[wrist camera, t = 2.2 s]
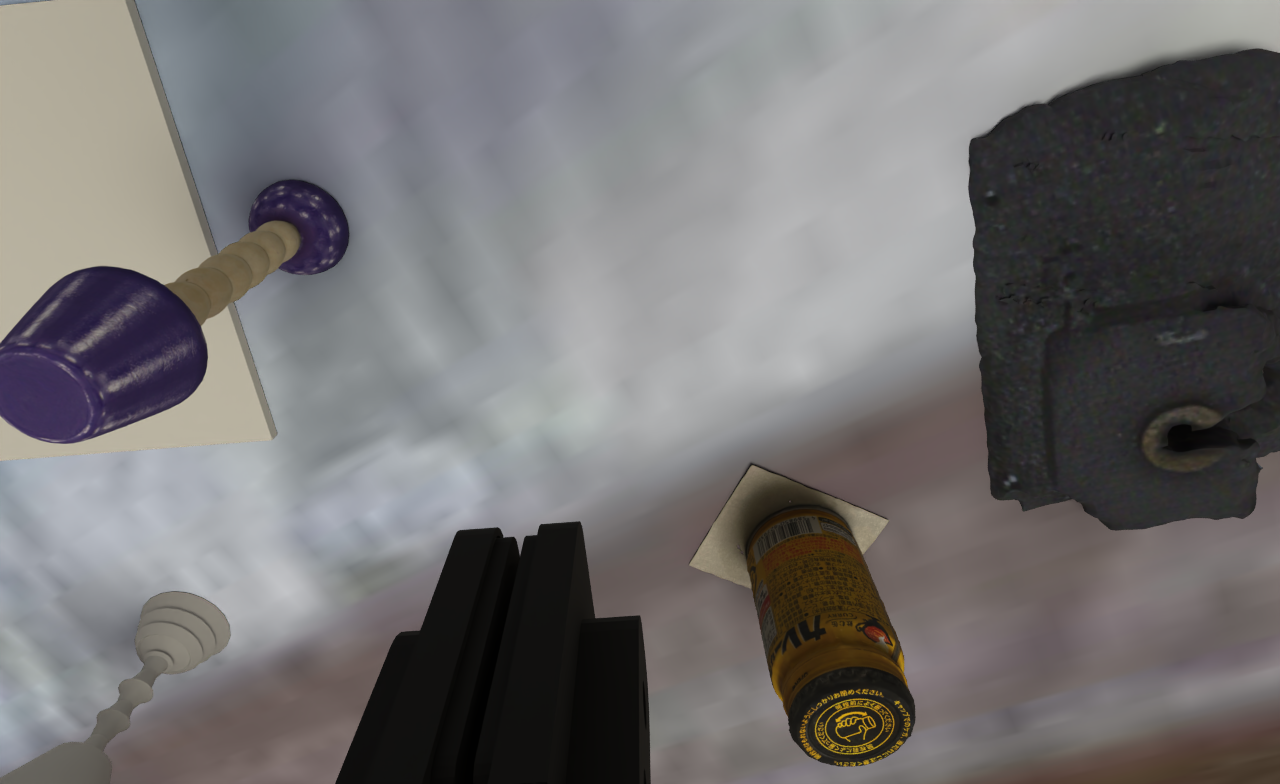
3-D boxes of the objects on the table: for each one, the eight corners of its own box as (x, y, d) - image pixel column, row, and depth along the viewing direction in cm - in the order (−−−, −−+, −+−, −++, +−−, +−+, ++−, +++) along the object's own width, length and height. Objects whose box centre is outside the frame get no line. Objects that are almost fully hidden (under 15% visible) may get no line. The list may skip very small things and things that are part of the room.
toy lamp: (368, 273, 35) (164, 455, 20) (274, 294, 35) (5, 487, 20) (328, 169, 33) (68, 284, 18) (229, 192, 33) (-107, 324, 18)
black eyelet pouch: (1324, 10, 31) (1434, 7, 27) (1279, 458, 40) (1357, 509, 36) (947, 117, 33) (993, 130, 28) (986, 523, 42) (1026, 579, 37)
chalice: (179, 557, 42) (-110, 889, 26) (272, 633, 44) (61, 980, 28) (97, 618, 44) (-222, 963, 28) (191, 687, 46) (-52, 1043, 30)
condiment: (819, 612, 44) (878, 802, 33) (688, 563, 42) (706, 745, 31) (888, 517, 41) (978, 691, 30) (751, 461, 39) (794, 623, 29)
